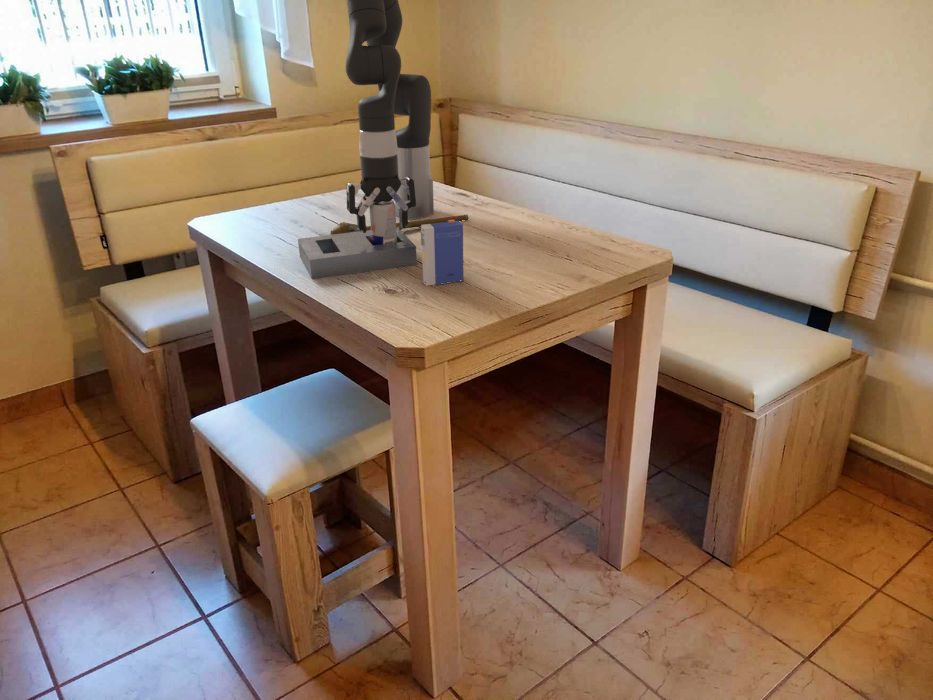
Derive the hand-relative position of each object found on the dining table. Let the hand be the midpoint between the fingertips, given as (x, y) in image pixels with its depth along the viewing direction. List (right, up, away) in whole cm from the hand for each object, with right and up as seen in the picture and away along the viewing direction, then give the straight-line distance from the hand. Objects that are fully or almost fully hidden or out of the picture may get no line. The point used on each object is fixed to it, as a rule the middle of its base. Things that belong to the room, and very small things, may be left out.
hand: (383, 229), depth 158 cm
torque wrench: (+3, +2, +19) cm, 19 cm away
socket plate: (-6, -6, +1) cm, 9 cm away
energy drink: (0, -6, +3) cm, 6 cm away
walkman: (+13, -12, -10) cm, 20 cm away
